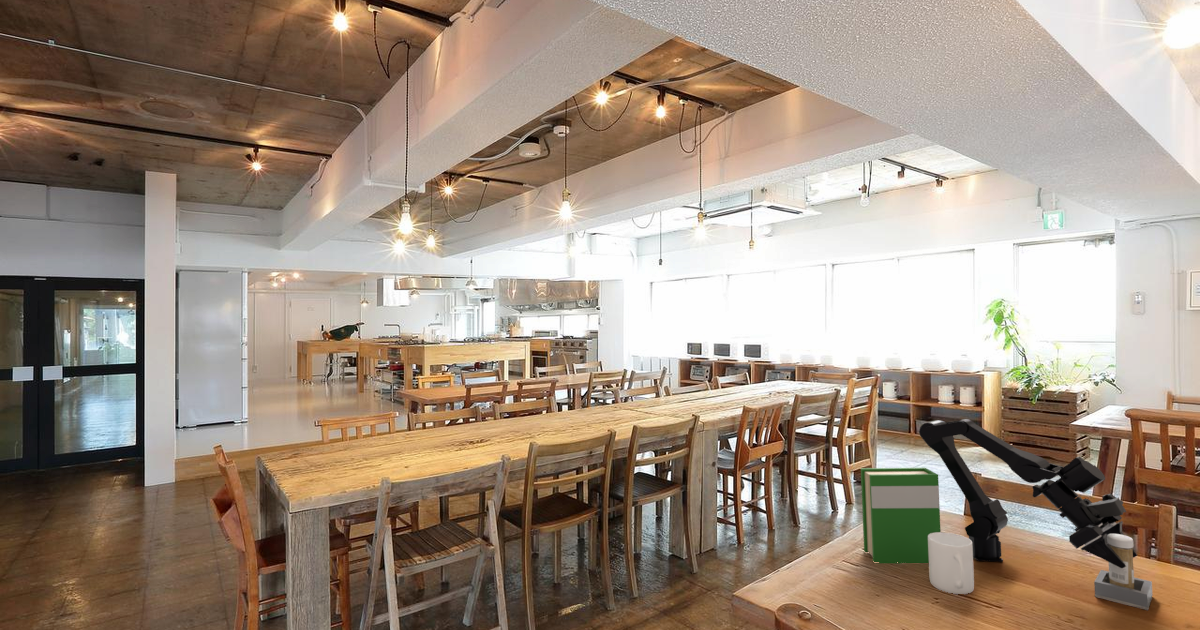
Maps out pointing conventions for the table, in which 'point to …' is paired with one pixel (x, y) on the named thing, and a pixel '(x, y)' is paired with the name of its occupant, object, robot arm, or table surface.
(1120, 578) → the sprinkles bottle
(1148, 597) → the holder
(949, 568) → the mug
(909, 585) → the table surface
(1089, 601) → the table surface
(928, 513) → the hardback book
